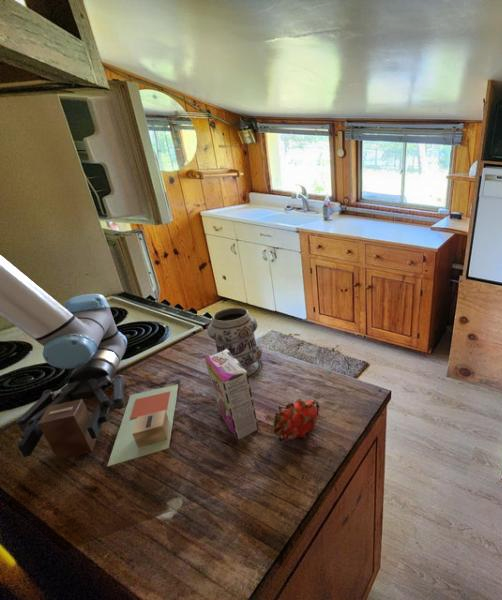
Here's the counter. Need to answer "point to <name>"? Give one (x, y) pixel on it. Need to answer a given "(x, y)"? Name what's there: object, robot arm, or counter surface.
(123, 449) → the word mat
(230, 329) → the apothecary jar
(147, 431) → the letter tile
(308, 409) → the dragon fruit
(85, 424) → the brown rectangular block
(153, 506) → the counter surface
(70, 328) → the robot arm
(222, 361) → the candy bar box
